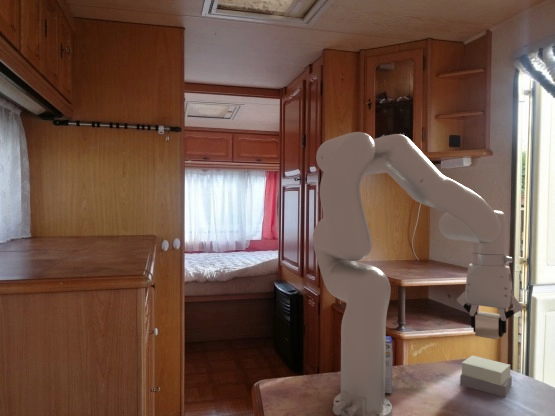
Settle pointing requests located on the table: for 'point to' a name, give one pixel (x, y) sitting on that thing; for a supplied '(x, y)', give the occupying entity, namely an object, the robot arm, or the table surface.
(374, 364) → the robot arm
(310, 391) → the table surface
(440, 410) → the table surface
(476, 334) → the birch cube
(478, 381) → the tower base block
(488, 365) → the tower top block
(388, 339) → the ink cartridge box
